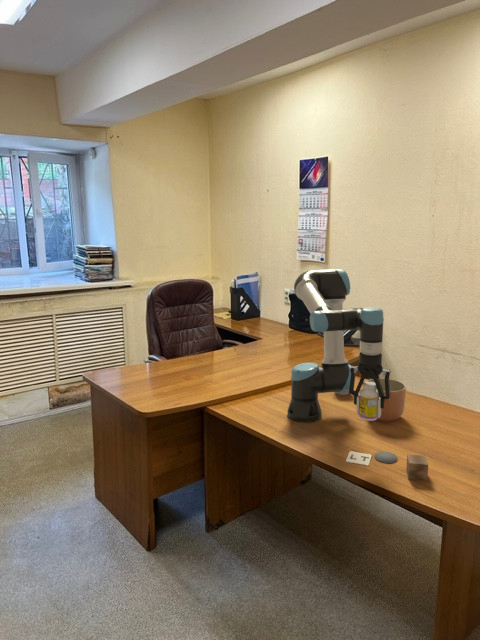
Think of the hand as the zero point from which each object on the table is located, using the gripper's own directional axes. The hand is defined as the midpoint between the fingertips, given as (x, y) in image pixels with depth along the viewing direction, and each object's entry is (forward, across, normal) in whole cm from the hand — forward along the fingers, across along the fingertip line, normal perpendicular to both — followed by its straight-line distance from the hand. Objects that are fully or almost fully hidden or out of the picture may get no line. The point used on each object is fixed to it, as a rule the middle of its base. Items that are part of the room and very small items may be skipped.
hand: (368, 414), depth 166 cm
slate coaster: (+17, +6, +3) cm, 19 cm away
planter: (+17, 0, +39) cm, 43 cm away
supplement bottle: (+1, 0, 0) cm, 1 cm away
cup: (+17, -24, +63) cm, 70 cm away
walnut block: (+17, +17, -5) cm, 25 cm away
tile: (+17, -3, -1) cm, 17 cm away
